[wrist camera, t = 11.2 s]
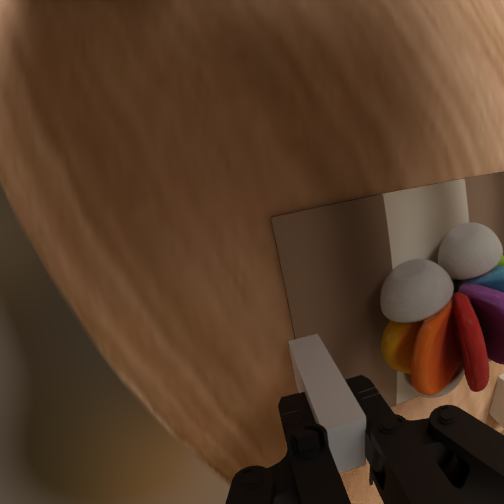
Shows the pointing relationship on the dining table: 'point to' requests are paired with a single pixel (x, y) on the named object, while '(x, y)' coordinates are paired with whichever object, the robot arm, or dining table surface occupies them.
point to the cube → (498, 402)
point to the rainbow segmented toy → (447, 313)
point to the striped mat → (371, 264)
